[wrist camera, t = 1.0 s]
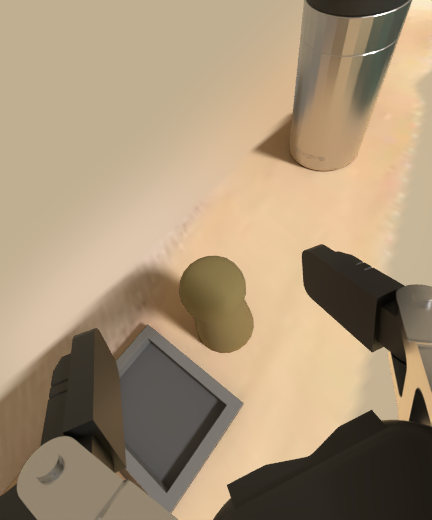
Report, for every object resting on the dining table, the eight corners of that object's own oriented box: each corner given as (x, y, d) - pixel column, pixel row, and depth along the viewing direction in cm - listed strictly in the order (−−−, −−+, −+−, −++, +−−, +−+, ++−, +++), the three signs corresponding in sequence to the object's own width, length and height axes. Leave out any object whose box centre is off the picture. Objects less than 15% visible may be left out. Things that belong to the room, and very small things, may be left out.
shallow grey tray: (152, 328, 32) (147, 324, 31) (243, 403, 28) (242, 402, 26) (82, 410, 29) (74, 410, 28) (172, 511, 25) (167, 516, 23)
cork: (224, 366, 30) (207, 337, 20) (184, 324, 32) (152, 281, 23) (265, 322, 31) (268, 276, 22) (224, 286, 34) (210, 230, 24)
